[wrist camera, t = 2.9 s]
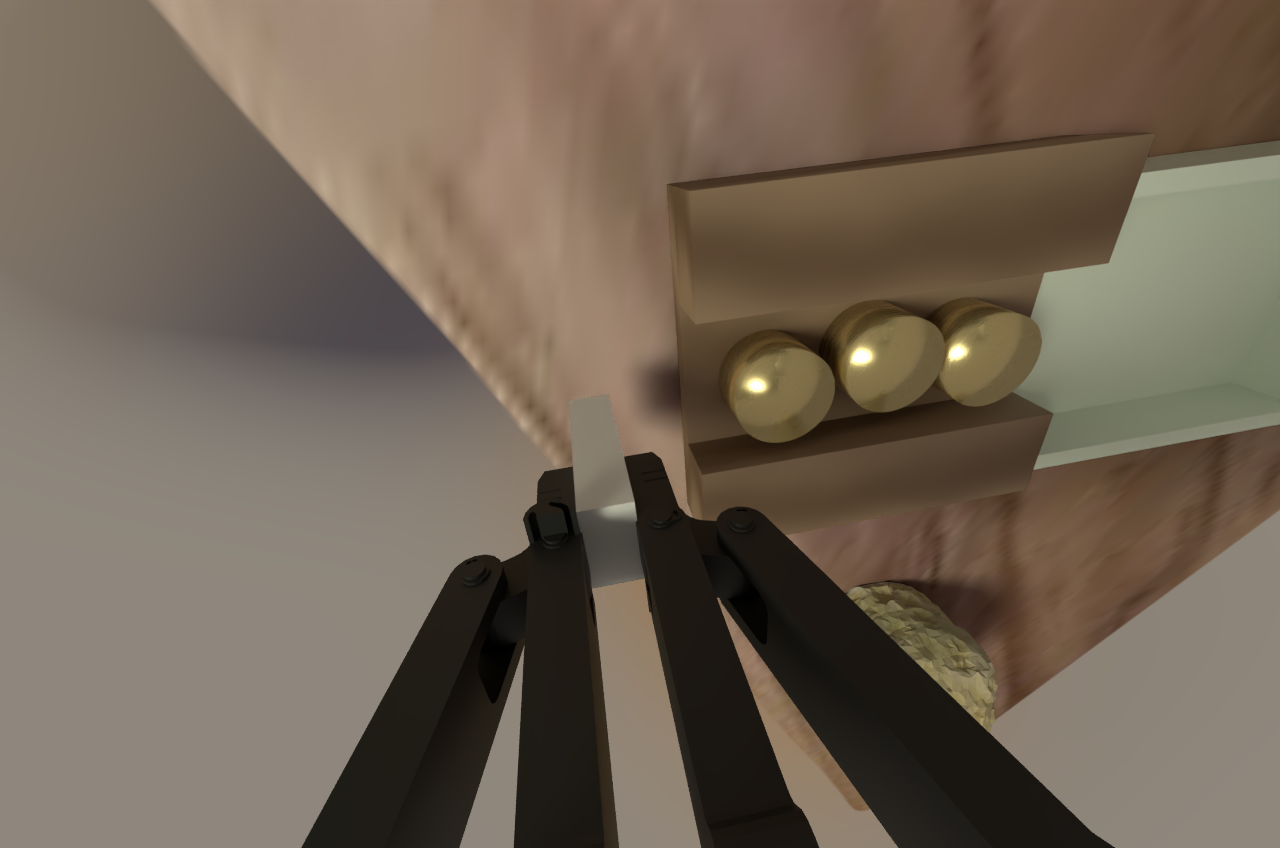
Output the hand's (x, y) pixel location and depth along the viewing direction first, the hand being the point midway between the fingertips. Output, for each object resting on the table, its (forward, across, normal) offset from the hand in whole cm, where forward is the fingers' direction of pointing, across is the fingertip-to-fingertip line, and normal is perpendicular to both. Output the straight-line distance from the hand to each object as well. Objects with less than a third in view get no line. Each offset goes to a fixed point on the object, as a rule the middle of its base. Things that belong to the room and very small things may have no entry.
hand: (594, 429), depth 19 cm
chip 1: (+2, +8, 0) cm, 8 cm away
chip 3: (+2, +16, 0) cm, 17 cm away
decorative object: (+4, +16, -21) cm, 27 cm away
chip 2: (+2, +12, +1) cm, 12 cm away
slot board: (+3, +12, 0) cm, 13 cm away
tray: (+3, +28, 0) cm, 28 cm away
